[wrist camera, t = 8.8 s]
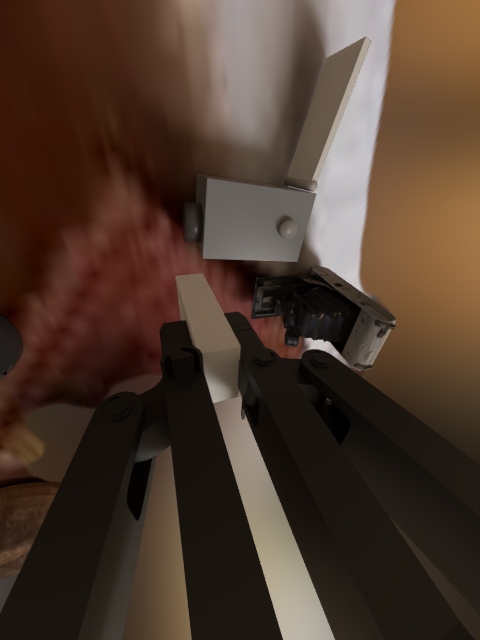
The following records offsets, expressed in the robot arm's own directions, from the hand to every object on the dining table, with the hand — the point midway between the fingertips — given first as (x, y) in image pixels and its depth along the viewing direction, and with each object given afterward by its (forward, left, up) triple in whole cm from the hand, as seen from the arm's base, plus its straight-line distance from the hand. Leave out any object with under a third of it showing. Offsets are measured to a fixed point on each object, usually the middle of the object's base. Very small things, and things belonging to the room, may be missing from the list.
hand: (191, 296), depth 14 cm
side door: (+19, +12, -25) cm, 33 cm away
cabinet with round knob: (+11, +1, -26) cm, 28 cm away
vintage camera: (+22, -12, -26) cm, 36 cm away
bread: (-36, -75, -26) cm, 87 cm away
